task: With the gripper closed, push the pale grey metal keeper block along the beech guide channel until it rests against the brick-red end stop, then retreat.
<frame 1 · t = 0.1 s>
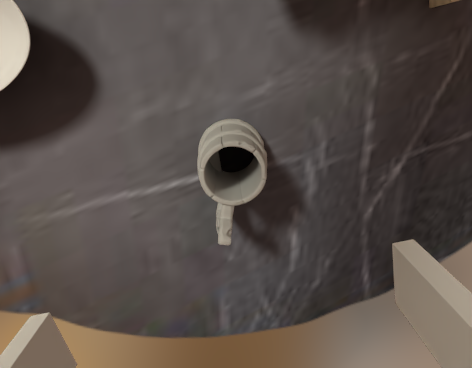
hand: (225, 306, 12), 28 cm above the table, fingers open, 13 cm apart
mug: (228, 164, 40), on the table
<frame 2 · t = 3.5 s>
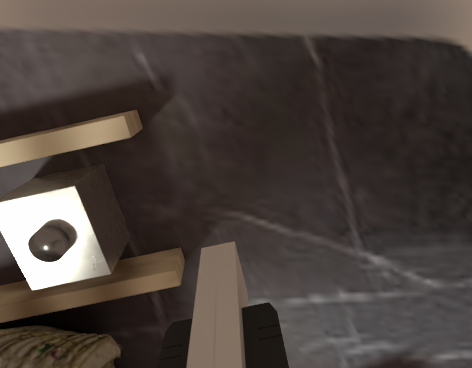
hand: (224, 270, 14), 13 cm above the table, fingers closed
keeper: (84, 208, 27), resting in channel
sculptural head: (46, 366, 33), on the table
channel: (21, 222, 27), on the table
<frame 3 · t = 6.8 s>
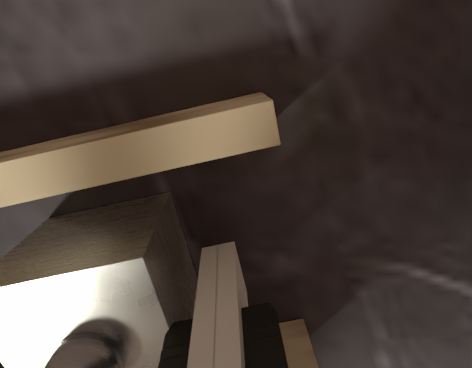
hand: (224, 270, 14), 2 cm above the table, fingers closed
keeper: (132, 266, 16), resting in channel, touching gripper
channel: (49, 284, 17), on the table
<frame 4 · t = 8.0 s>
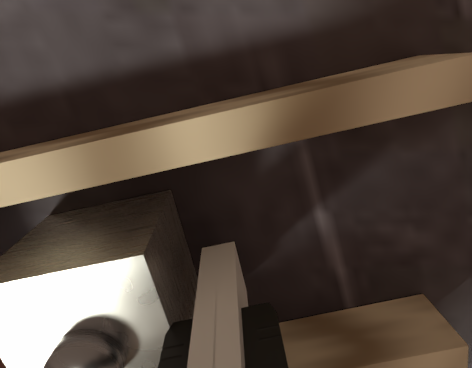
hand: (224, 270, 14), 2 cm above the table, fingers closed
keeper: (132, 264, 16), resting in channel, touching gripper
channel: (175, 257, 16), on the table
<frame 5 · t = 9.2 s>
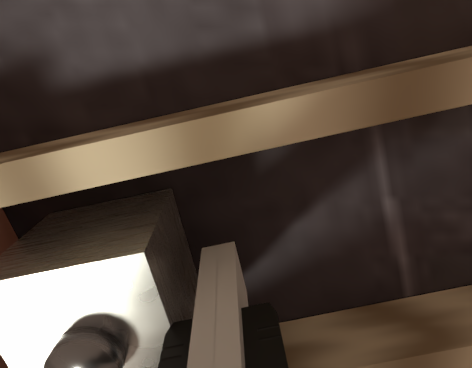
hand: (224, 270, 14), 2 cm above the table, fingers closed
keeper: (133, 262, 16), resting in channel, touching gripper
channel: (240, 244, 16), on the table
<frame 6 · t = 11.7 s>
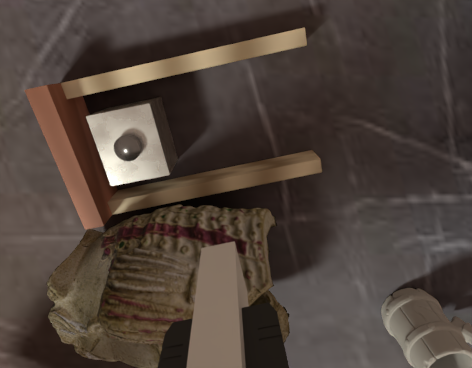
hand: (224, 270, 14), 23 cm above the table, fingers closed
keeper: (143, 134, 35), resting in channel
sculptural head: (187, 254, 41), on the table
channel: (192, 125, 35), on the table
mug: (418, 308, 45), on the table
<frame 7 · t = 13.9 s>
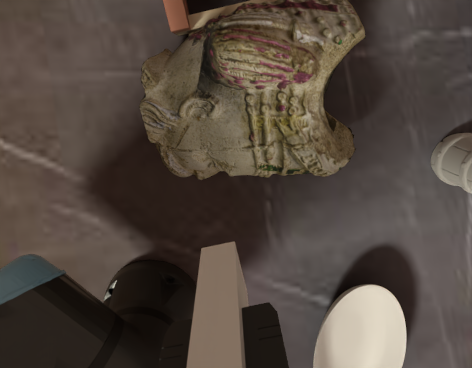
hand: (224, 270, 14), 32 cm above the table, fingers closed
sculptural head: (251, 95, 44), on the table
bowl: (345, 330, 59), on the table
mug: (466, 158, 48), on the table
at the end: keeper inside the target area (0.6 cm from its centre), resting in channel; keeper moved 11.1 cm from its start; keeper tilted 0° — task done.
